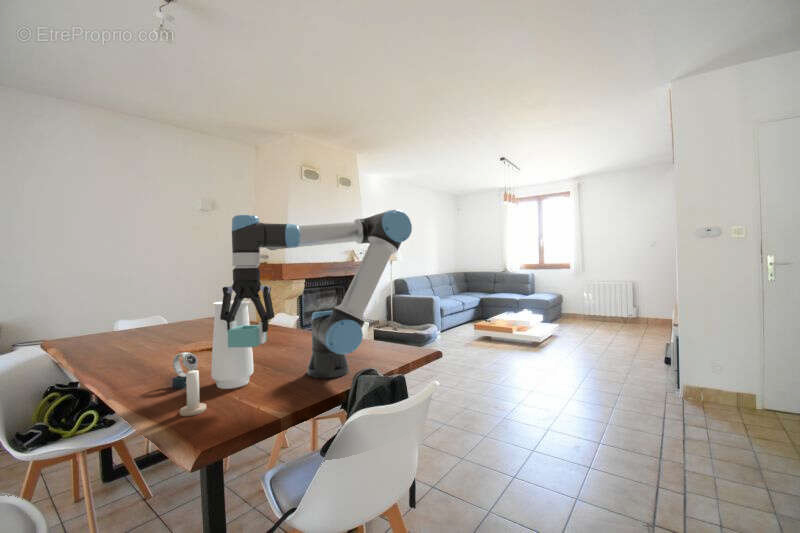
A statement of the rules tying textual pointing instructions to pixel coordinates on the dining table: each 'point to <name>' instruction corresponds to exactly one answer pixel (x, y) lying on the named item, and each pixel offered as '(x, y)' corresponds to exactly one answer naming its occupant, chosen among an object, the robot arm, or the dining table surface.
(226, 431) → the dining table surface
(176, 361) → the watch
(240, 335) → the teal storage bin
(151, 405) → the dining table surface
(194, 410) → the post
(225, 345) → the vase
